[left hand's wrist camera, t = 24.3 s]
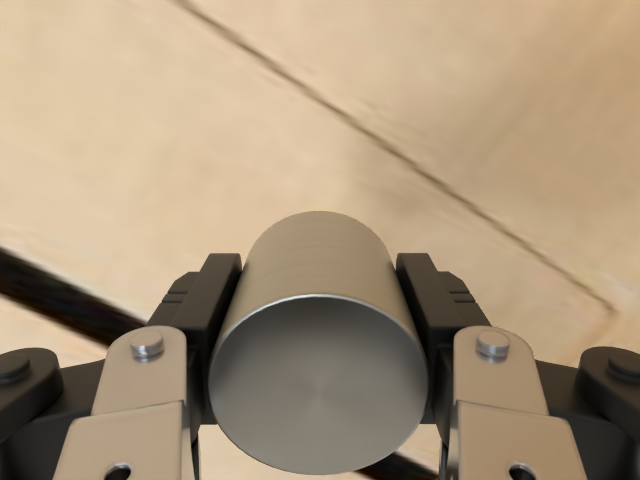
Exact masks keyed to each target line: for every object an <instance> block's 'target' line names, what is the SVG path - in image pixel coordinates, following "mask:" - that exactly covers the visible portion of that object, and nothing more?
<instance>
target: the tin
mask: <svg viewBox="0 0 640 480" xmlns="http://www.w3.org/2000/svg"><path fill="white" fill-rule="evenodd" d="M430 388H431V379H430V370H429V365H428V361H427V358H426V355H425V352H424V350H423V347H422V344H421V341H420V338H419V336H418V333H417V330H416V327H415V324H414V322H413V319H412V316H411V313H410V310H409V308H408V305H407V302H406V299H405V296H404V294H403V291H402V288H401V285H400V282H399V280H398V277H397V274H396V271H395V268H394V266H393V263H392V260H391V257H390V255H389V252H388V251H387V249H386V247H385V245H384V244H383V242H382V241H381V240H380V238H379V237H378V236H377V235H376V234H375V233H374V232H373V231H372V230H371V229H369V228H368V227H367V226H365V225H364V224H362V223H361V222H359V221H357V220H356V219H353V218H351V217H348V216H346V215H342V214H339V213H334V212H327V211H311V212H303V213H299V214H295V215H292V216H289V217H287V218H284V219H282V220H281V221H279V222H277V223H275V224H274V225H272V226H271V227H270V228H268V229H267V230H266V231H265V232H264V233H263V234H262V235H261V236H260V237H259V238H258V239H257V241H256V242H255V243H254V245H253V247H252V248H251V250H250V252H249V254H248V257H247V259H246V262H245V265H244V267H243V270H242V273H241V276H240V278H239V281H238V284H237V286H236V289H235V292H234V295H233V297H232V300H231V303H230V305H229V308H228V311H227V313H226V316H225V319H224V322H223V324H222V327H221V330H220V332H219V335H218V338H217V341H216V343H215V346H214V349H213V351H212V354H211V357H210V360H209V364H208V368H207V375H206V389H207V397H208V401H209V405H210V408H211V411H212V413H213V416H214V418H215V420H216V422H217V423H218V425H219V427H220V428H221V430H222V431H223V432H224V433H225V435H226V436H227V437H228V438H229V440H231V441H232V442H233V443H234V444H235V445H236V446H237V447H238V448H239V449H241V450H242V451H243V452H245V453H246V454H247V455H249V456H251V457H252V458H254V459H256V460H258V461H259V462H262V463H264V464H266V465H268V466H271V467H274V468H277V469H280V470H283V471H287V472H292V473H297V474H306V475H331V474H339V473H345V472H350V471H354V470H357V469H360V468H364V467H366V466H368V465H371V464H373V463H376V462H377V461H379V460H381V459H383V458H385V457H387V456H388V455H389V454H391V453H392V452H394V451H395V450H397V449H398V448H399V447H400V446H401V445H402V444H403V443H404V442H406V440H407V439H408V438H409V437H410V436H411V435H412V434H413V432H414V431H415V429H416V428H417V426H418V425H419V423H420V422H421V420H422V417H423V415H424V413H425V411H426V407H427V404H428V401H429V396H430Z"/></svg>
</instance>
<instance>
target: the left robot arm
mask: <svg viewBox="0 0 640 480" xmlns="http://www.w3.org/2000/svg"><path fill="white" fill-rule="evenodd" d="M241 273H242V263H241V257H240V254H239V253H211V254H209V256H208V258H207V259H206V261H205V263H204V265H203V267H202V268H201V270H200V272H188V273H186V274H185V275H183V276H182V277H180V278H179V279H177V280H176V281H174V283H173V284H172V286H171V287H170V289H169V291H168V294H166V295H165V297H164V298H163V300H162V303H160V304H159V306H158V307H157V309H156V310H155V312H154V313H153V315H152V316H151V318H150V320H149V321H148V323H147V324H146V326H145V327H143V328H140V329H136V330H133V331H131V332H129V333H126V334H124V335H123V336H121V337H120V338H118V339H117V340H115V341H114V342H113V343H112V345H111V346H110V347H109V349H108V352H107V355H106V359H103V360H100V361H96V362H91V363H86V364H81V365H76V366H71V367H66V368H61V369H60V366H59V363H58V359H57V356H56V354H55V353H54V352H52V351H51V350H48V349H44V348H24V349H18V350H14V351H10V352H7V353H4V354H1V355H0V480H201V457H200V445H199V437H198V430H199V427H200V425H217V422H216V420H215V418H214V416H213V413H212V411H211V408H210V405H209V401H208V397H207V389H206V375H207V368H208V364H209V360H210V357H211V354H212V351H213V349H214V346H215V343H216V341H217V338H218V335H219V332H220V330H221V327H222V324H223V322H224V319H225V316H226V313H227V311H228V308H229V305H230V303H231V300H232V297H233V295H234V292H235V289H236V286H237V284H238V281H239V278H240V276H241ZM396 274H397V277H398V280H399V282H400V285H401V288H402V291H403V294H404V296H405V299H406V302H407V305H408V308H409V310H410V313H411V316H412V319H413V322H414V324H415V327H416V330H417V333H418V336H419V338H420V341H421V344H422V347H423V350H424V352H425V355H426V358H427V361H428V365H429V370H430V379H431V388H430V396H429V401H428V404H427V407H426V411H425V413H424V415H423V417H422V420H421V422H420V424H436V425H437V428H438V431H439V434H440V437H441V445H440V457H439V480H640V354H638V353H635V352H632V351H628V350H625V349H620V348H615V347H604V346H603V347H593V348H590V349H587V350H585V351H584V352H583V353H582V355H581V358H580V362H579V366H578V368H573V367H568V366H563V365H558V364H553V363H547V362H543V361H539V360H535V359H534V355H533V352H532V349H531V347H530V346H529V345H528V343H527V342H526V341H525V340H523V339H522V338H520V337H519V336H517V335H516V334H514V333H511V332H509V331H506V330H504V329H500V328H497V327H492V326H491V324H490V322H489V321H488V319H487V318H486V316H485V315H484V313H483V312H482V310H481V309H480V307H479V305H478V304H477V303H475V299H474V298H473V296H472V295H471V294H470V291H469V290H468V288H467V287H466V285H465V284H464V282H463V281H462V280H461V279H459V278H458V277H456V276H455V275H453V274H451V273H450V272H438V271H437V269H436V267H435V266H434V264H433V262H432V260H431V258H430V257H429V255H428V254H427V253H398V255H397V260H396Z"/></svg>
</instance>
